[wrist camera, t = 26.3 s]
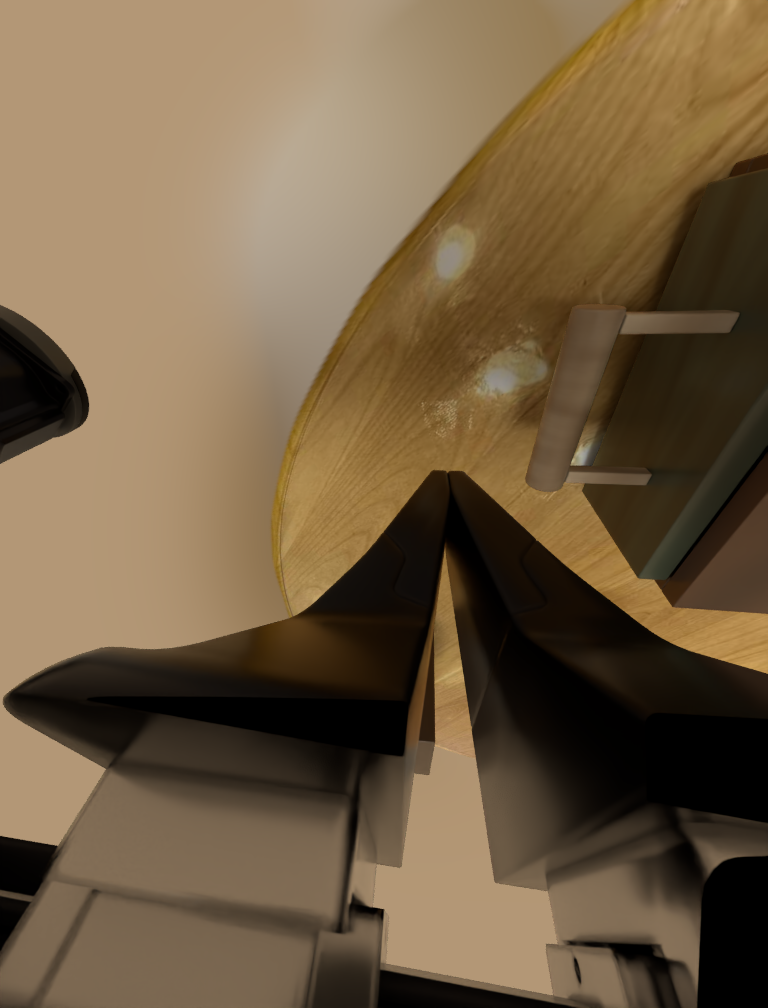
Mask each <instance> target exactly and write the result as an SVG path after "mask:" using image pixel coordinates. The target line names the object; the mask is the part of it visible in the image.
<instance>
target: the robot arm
mask: <svg viewBox="0 0 768 1008" xmlns="http://www.w3.org/2000/svg"><path fill="white" fill-rule="evenodd" d="M74 394H75V389H74V387H73V386H72V384H71V383H70V382H68V381H67V380H66V379H65V378H63V377H62V376H61V375H60V374H58V373H57V372H56V371H54V370H53V369H52V368H51V367H49V366H48V365H47V364H46V363H44V362H43V361H42V360H41V359H39V358H38V357H37V356H36V355H34V354H33V353H32V352H31V351H29V350H28V349H27V348H26V347H24V346H23V345H22V344H21V343H19V342H18V341H17V340H16V339H14V338H13V337H12V336H11V335H9V334H8V333H7V332H5V331H4V330H3V329H2V328H0V464H1V463H3V462H5V461H7V460H9V459H11V458H13V457H15V456H17V455H19V454H21V453H23V452H25V451H27V450H29V449H31V448H33V447H35V446H37V445H39V444H42V443H44V442H45V441H48V440H49V439H52V438H53V437H54V436H55V434H56V433H57V431H58V429H59V428H60V426H61V424H62V423H63V421H64V419H65V413H64V411H65V409H66V408H67V406H68V404H69V403H70V401H71V399H72V397H73V396H74ZM444 549H445V552H446V560H447V566H448V573H449V580H450V586H451V593H452V600H453V607H454V613H455V620H456V627H457V633H458V640H459V647H460V654H461V660H462V667H463V674H464V680H465V687H466V694H467V701H468V707H469V714H470V721H471V726H472V735H473V742H474V748H475V755H476V761H477V768H478V775H479V782H480V788H481V795H482V802H483V809H484V815H485V822H486V828H487V835H488V841H489V849H490V855H491V862H492V868H493V875H494V881H495V883H499V884H505V885H512V886H518V887H524V888H530V889H537V890H544V891H548V894H549V900H550V905H551V910H552V916H553V921H554V926H555V932H556V937H557V943H558V945H556V944H546V954H547V960H548V966H549V972H550V978H551V984H552V989H553V996H552V995H547V994H542V993H537V992H531V991H526V990H521V989H516V988H510V987H505V986H500V985H495V984H490V983H484V982H479V981H474V980H469V979H463V978H458V977H453V976H448V975H442V974H437V973H431V972H427V971H422V970H416V969H411V968H406V967H400V966H395V965H390V964H386V958H387V941H388V925H389V916H388V914H387V913H386V911H385V910H384V909H380V908H373V900H374V887H375V876H376V865H377V864H380V865H386V866H393V867H399V868H400V867H401V866H402V859H403V850H404V843H405V836H406V828H407V821H408V814H409V806H410V799H411V792H412V785H413V777H414V770H415V763H416V755H417V748H418V741H419V733H420V726H421V719H422V711H423V704H424V697H425V689H426V682H427V675H428V668H429V660H430V653H431V646H432V638H433V631H434V624H435V616H436V609H437V602H438V594H439V587H440V580H441V572H442V565H443V558H444ZM3 705H4V707H5V708H6V710H7V711H8V712H10V714H12V715H13V716H14V717H15V718H17V719H18V720H20V721H22V722H23V723H25V724H27V725H28V726H30V727H32V728H34V729H35V730H37V731H39V732H41V733H43V734H45V735H46V736H48V737H50V738H52V739H54V740H55V741H57V742H59V743H61V744H62V745H64V746H66V747H68V748H70V749H71V750H73V751H75V752H77V753H79V754H80V755H82V756H84V757H86V758H88V759H89V760H91V761H93V762H95V763H97V764H98V765H100V766H102V767H104V768H105V769H106V770H105V772H104V773H103V775H102V777H101V778H100V780H99V781H98V783H97V785H96V786H95V788H94V790H93V791H92V793H91V794H90V796H89V798H88V799H87V801H86V803H85V804H84V806H83V807H82V809H81V810H80V812H79V813H78V815H77V817H76V818H75V820H74V822H73V823H72V825H71V826H70V828H69V830H68V831H67V833H66V834H65V836H64V837H63V839H62V841H61V842H60V844H59V845H58V846H55V845H49V844H43V843H38V842H32V841H26V840H20V839H14V838H8V837H3V836H0V1008H768V674H766V673H763V672H759V671H756V670H753V669H749V668H746V667H742V666H739V665H735V664H732V663H729V662H725V661H722V660H718V659H715V658H711V657H708V656H704V655H701V654H698V653H694V652H691V651H688V650H686V649H683V648H681V647H678V646H676V645H674V644H672V643H670V642H668V641H666V640H664V639H662V638H660V637H659V636H657V635H656V634H654V633H652V632H651V631H649V630H648V629H647V628H645V627H644V626H642V625H641V624H640V623H638V622H637V621H636V620H635V619H633V618H632V617H631V616H629V615H628V614H627V613H625V612H624V611H623V610H622V609H620V608H619V607H618V606H616V605H615V604H614V603H612V602H611V601H610V600H609V599H607V598H606V597H605V596H603V595H602V594H601V593H600V592H598V591H597V590H596V589H594V588H593V587H592V586H590V585H589V584H588V583H587V582H585V581H584V580H583V579H582V578H580V577H579V576H578V575H577V574H575V573H574V572H573V571H572V570H570V569H569V568H568V567H567V566H565V565H564V564H563V563H562V562H561V561H560V560H559V559H557V558H556V557H555V556H554V555H553V554H552V553H551V552H550V551H548V550H547V549H546V548H545V547H544V546H543V545H542V544H541V543H540V542H539V541H536V539H535V538H534V537H533V536H532V535H531V534H530V533H529V532H528V531H527V530H526V529H525V528H524V527H523V526H521V525H520V524H519V523H518V522H517V521H516V520H515V519H514V518H513V517H512V516H511V515H510V514H509V513H508V512H506V511H505V510H504V509H503V508H502V507H501V506H500V505H499V504H498V503H497V502H496V501H495V500H494V499H493V498H491V497H490V496H489V495H488V494H487V493H486V492H485V491H484V490H483V489H482V488H481V487H480V486H479V485H478V484H476V483H475V482H474V481H473V480H472V479H471V478H470V477H469V476H468V475H467V474H466V473H465V472H463V471H449V472H448V473H447V471H443V470H433V471H431V472H430V474H429V475H428V476H427V477H426V479H425V480H424V481H423V483H422V484H421V485H420V486H419V488H418V489H417V490H416V491H415V493H414V494H413V495H412V496H411V498H410V499H409V500H408V502H407V503H406V504H405V505H404V507H403V508H402V509H401V510H400V512H399V513H398V514H397V515H396V517H395V518H394V519H393V521H392V522H391V523H390V524H389V526H388V527H387V528H386V529H385V531H384V533H382V534H381V536H380V537H379V538H378V539H377V541H376V542H375V543H374V544H373V545H372V547H371V548H370V549H369V550H368V551H367V552H366V554H365V555H364V556H363V557H362V558H361V559H360V560H359V561H358V562H357V563H356V564H355V565H354V566H353V567H352V568H351V569H350V570H348V571H347V572H346V573H345V574H344V575H343V576H342V577H341V578H340V579H339V580H338V581H337V582H336V583H335V584H334V585H333V586H331V587H330V588H329V589H328V590H327V591H326V592H325V593H324V594H323V595H322V596H321V597H320V598H319V599H318V600H317V601H316V602H314V603H313V604H312V605H311V606H310V607H308V608H307V609H306V610H304V611H303V612H301V613H299V614H298V615H296V616H294V617H291V618H289V619H285V620H282V621H278V622H274V623H271V624H267V625H264V626H260V627H256V628H252V629H249V630H245V631H241V632H238V633H234V634H230V635H227V636H223V637H219V638H216V639H212V640H208V641H205V642H201V643H196V644H192V645H187V646H182V647H175V648H167V649H136V648H126V647H105V648H99V649H96V650H92V651H89V652H86V653H83V654H79V655H77V656H74V657H71V658H68V659H66V660H63V661H60V662H58V663H56V664H54V665H51V666H49V667H47V668H45V669H44V670H42V671H40V672H38V673H36V674H34V675H32V676H31V677H29V678H28V679H26V680H24V681H23V682H22V683H20V684H19V685H18V686H16V687H15V688H13V689H12V690H11V691H9V692H8V693H7V694H6V695H5V696H4V697H3Z"/></svg>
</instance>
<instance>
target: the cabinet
mask: <svg viewBox="0 0 768 1008" xmlns="http://www.w3.org/2000/svg"><path fill="white" fill-rule="evenodd" d="M766 168H768V153H767V154H764V155H760V156H757V157H754V158H751V159H747V160H744V161H741V162H738V163H737V164H736V165H735V166H734V169H733V171H732V173H731V176H730V177H734V176H738V175H742V174H746V173H750V172H754V171H758V170H762V169H766ZM655 582H656V583H657V585H658V586H659V587H660V589H661V590H662V592H663V594H664V595H665V597H666V598H667V600H668V601H669V602H670V604H671V605H672V607H677V608H691V609H706V610H720V611H735V612H749V613H763V614H768V452H767V453H766V454H765V456H764V457H763V458H762V460H761V461H760V462H759V464H758V465H757V466H756V468H755V469H754V470H753V471H752V473H751V474H750V475H749V477H748V478H747V479H746V481H745V482H744V483H743V485H742V486H741V487H740V489H739V490H738V491H737V492H736V494H735V495H734V496H733V498H732V499H731V500H730V502H729V503H728V504H727V506H726V507H725V508H724V509H723V511H722V512H721V513H720V515H719V516H718V517H717V519H716V520H715V521H714V523H713V524H712V525H711V527H710V528H709V529H708V530H707V532H706V533H705V534H704V536H703V537H702V538H701V540H700V541H699V542H698V544H697V545H696V546H695V547H694V549H693V548H692V547H691V548H690V549H689V550H688V552H687V553H686V554H685V556H684V557H683V558H682V560H681V561H680V562H679V564H678V565H677V566H676V568H675V569H674V570H673V572H672V573H671V574H670V576H669V577H668V578H667V579H666V580H655Z"/></svg>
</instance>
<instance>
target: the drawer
mask: <svg viewBox="0 0 768 1008" xmlns="http://www.w3.org/2000/svg"><path fill="white" fill-rule="evenodd" d="M618 333H619V334H646V336H645V338H644V341H643V343H642V346H641V348H640V351H639V353H638V355H637V358H636V360H635V363H634V365H633V368H632V370H631V372H630V375H629V377H628V380H627V382H626V385H625V387H624V389H623V392H622V394H621V397H620V399H619V402H618V404H617V407H616V409H615V411H614V414H613V416H612V419H611V421H610V424H609V426H608V428H607V431H606V433H605V436H604V438H603V441H602V443H601V445H600V448H599V450H598V453H597V455H596V458H595V460H594V462H593V465H592V466H570V464H571V461H572V459H573V456H574V453H575V450H576V448H577V445H578V442H579V439H580V437H581V434H582V431H583V428H584V426H585V423H586V420H587V417H588V415H589V412H590V409H591V406H592V404H593V401H594V398H595V395H596V393H597V390H598V387H599V384H600V382H601V379H602V376H603V373H604V371H605V368H606V365H607V362H608V360H609V357H610V354H611V351H612V349H613V346H614V343H615V340H616V337H617V335H618ZM767 445H768V168H766V169H762V170H758V171H754V172H750V173H746V174H742V175H738V176H734V177H730V178H726V179H722V180H718V181H714V182H711V183H709V184H708V185H707V187H706V190H705V192H704V195H703V197H702V200H701V202H700V204H699V207H698V209H697V212H696V214H695V217H694V219H693V222H692V224H691V226H690V229H689V231H688V234H687V236H686V239H685V241H684V243H683V246H682V248H681V251H680V253H679V256H678V258H677V260H676V263H675V265H674V268H673V270H672V273H671V275H670V278H669V280H668V282H667V285H666V287H665V290H664V292H663V295H662V297H661V299H660V302H659V304H658V307H657V309H656V311H651V312H626V308H625V307H623V306H619V305H611V304H581V305H576V306H573V308H572V310H571V313H570V317H569V320H568V324H567V328H566V331H565V335H564V339H563V342H562V346H561V350H560V353H559V357H558V360H557V364H556V368H555V371H554V375H553V379H552V382H551V386H550V390H549V393H548V397H547V400H546V404H545V408H544V411H543V415H542V419H541V422H540V426H539V430H538V433H537V437H536V441H535V444H534V448H533V451H532V455H531V459H530V462H529V466H528V470H527V473H526V477H525V480H526V483H527V484H528V485H529V486H531V487H532V488H534V489H536V490H540V491H544V492H554V491H558V490H559V489H561V488H562V486H563V483H564V481H565V482H566V483H585V484H584V487H583V489H582V492H583V493H584V495H585V496H586V498H587V500H588V501H589V503H590V504H591V506H592V507H593V509H594V510H595V512H596V514H597V515H598V517H599V518H600V520H601V521H602V523H603V524H604V526H605V528H606V529H607V531H608V532H609V534H610V535H611V537H612V539H613V540H614V542H615V543H616V545H617V546H618V548H619V549H620V551H621V553H622V554H623V556H624V557H625V559H626V560H627V562H628V563H629V565H630V567H631V568H632V570H633V571H634V573H635V574H636V576H637V577H638V578H639V579H653V580H666V579H667V578H668V577H669V576H670V574H671V573H672V572H673V570H674V569H675V568H676V566H677V565H678V564H679V562H680V561H681V560H682V558H683V557H684V556H685V554H686V553H687V552H688V550H689V549H690V548H691V547H692V548H693V549H694V547H695V546H696V545H697V544H698V542H699V541H700V540H701V538H702V537H703V536H704V534H705V533H706V532H707V530H708V529H709V528H710V527H711V525H712V524H713V523H714V521H715V520H716V519H717V517H718V516H719V515H720V513H721V512H722V511H723V509H724V508H725V507H726V506H727V504H728V503H729V502H730V500H731V499H732V498H733V496H734V495H735V494H736V492H737V491H738V490H739V489H740V487H741V486H742V485H743V483H744V482H745V481H746V479H747V478H748V477H749V475H750V474H751V473H752V471H753V470H754V469H755V468H756V467H752V465H753V464H754V463H755V461H756V460H757V459H758V457H759V456H760V455H761V453H762V452H763V451H764V449H765V448H766V447H767Z"/></svg>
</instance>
